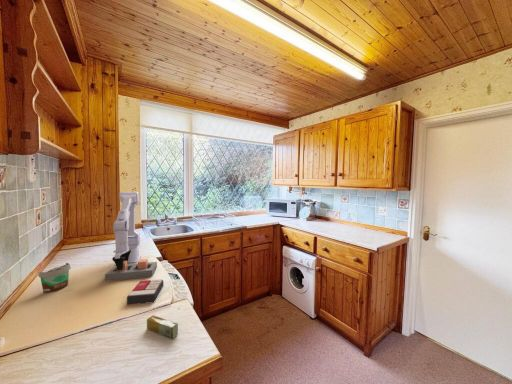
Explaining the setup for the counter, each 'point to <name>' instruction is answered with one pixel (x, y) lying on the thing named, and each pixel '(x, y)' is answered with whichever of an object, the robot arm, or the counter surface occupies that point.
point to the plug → (124, 266)
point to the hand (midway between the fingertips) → (122, 266)
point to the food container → (55, 278)
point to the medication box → (162, 327)
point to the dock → (132, 271)
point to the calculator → (145, 292)
